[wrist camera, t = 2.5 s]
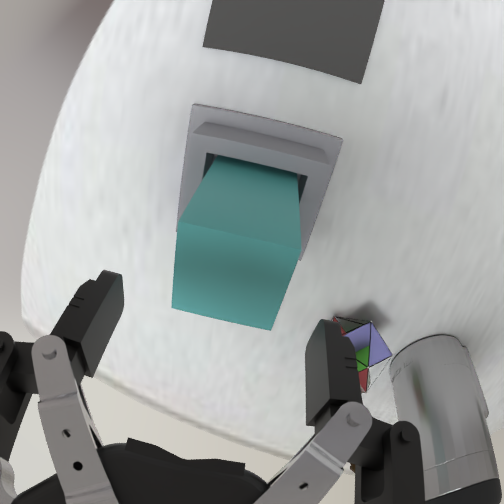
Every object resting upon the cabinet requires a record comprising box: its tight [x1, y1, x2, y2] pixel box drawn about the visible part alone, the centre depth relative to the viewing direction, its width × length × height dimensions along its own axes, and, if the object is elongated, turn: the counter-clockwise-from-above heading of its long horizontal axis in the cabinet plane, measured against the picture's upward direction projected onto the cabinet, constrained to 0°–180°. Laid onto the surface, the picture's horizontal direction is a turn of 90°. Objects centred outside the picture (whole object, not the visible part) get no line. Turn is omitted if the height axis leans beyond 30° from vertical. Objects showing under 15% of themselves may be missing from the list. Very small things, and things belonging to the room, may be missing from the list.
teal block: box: [172, 155, 302, 331], centre depth 18 cm, size 5×5×10 cm
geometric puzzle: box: [331, 316, 393, 393], centre depth 28 cm, size 7×7×8 cm
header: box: [176, 104, 343, 261], centre depth 21 cm, size 10×10×4 cm
